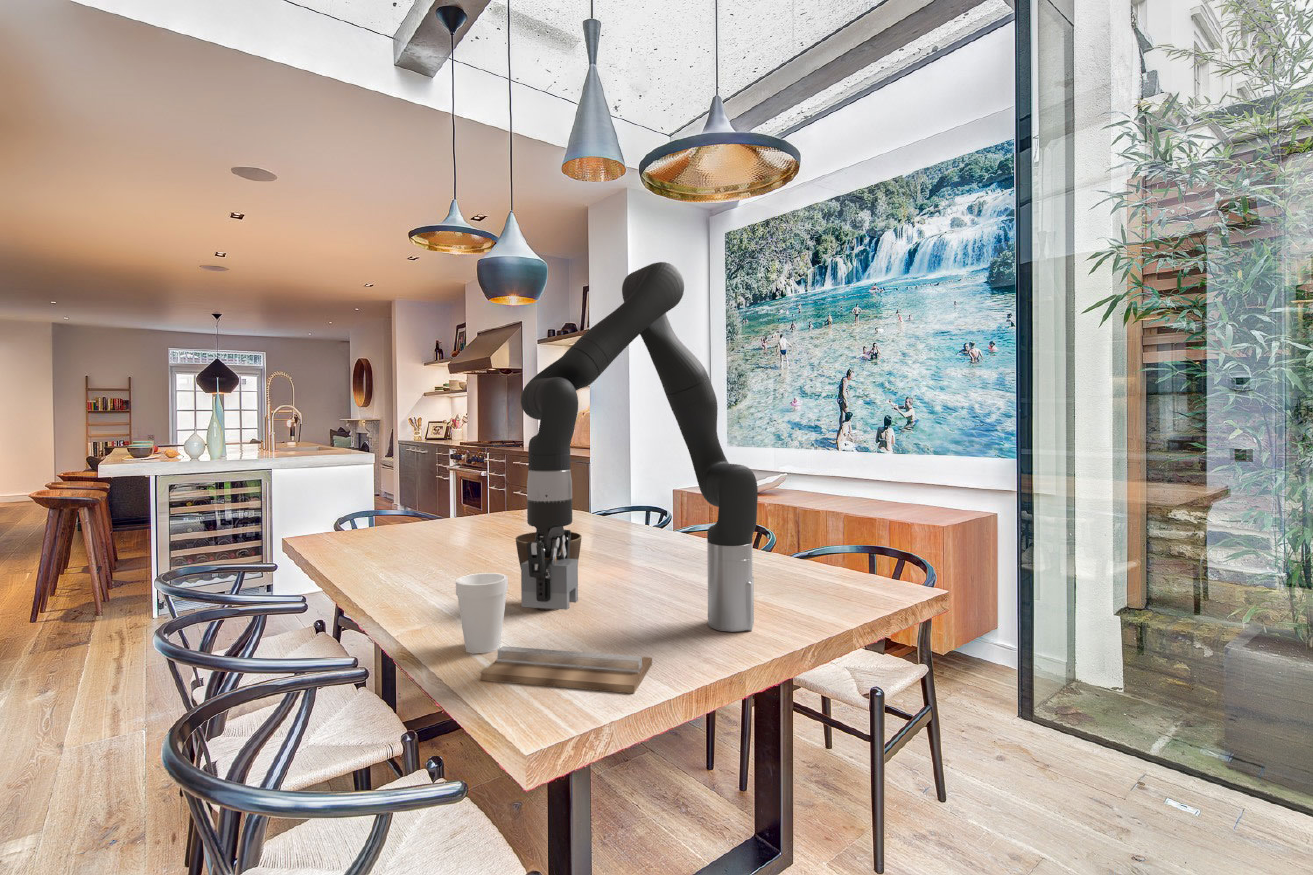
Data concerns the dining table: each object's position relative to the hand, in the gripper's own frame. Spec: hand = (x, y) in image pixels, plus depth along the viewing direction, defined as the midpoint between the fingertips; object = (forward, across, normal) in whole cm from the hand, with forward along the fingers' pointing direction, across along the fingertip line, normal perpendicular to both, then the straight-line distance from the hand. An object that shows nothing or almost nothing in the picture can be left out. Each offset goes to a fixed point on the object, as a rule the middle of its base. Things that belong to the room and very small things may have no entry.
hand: (550, 595), depth 109 cm
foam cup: (+13, +8, +17) cm, 23 cm away
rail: (+12, 0, -3) cm, 12 cm away
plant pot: (+13, +36, +15) cm, 41 cm away
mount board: (+13, 0, -3) cm, 13 cm away
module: (+1, 0, 0) cm, 1 cm away
